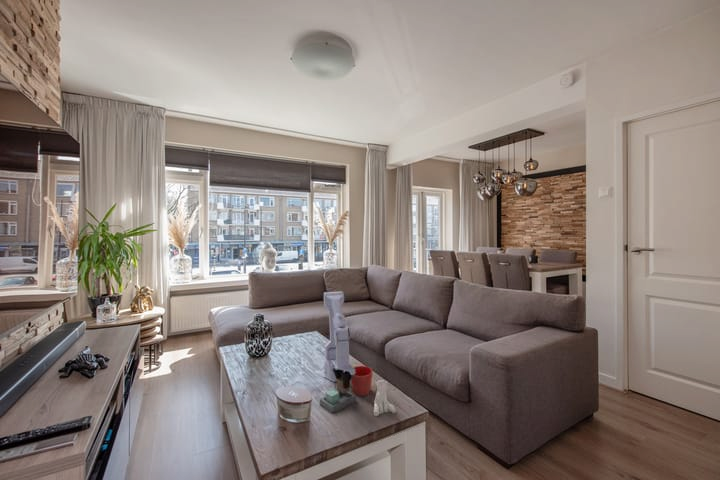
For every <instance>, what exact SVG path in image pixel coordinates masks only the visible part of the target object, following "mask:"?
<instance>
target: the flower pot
mask: <svg viewBox="0 0 720 480" xmlns="http://www.w3.org/2000/svg"><path fill="white" fill-rule="evenodd" d="M352 367H353V366H352ZM353 368H354V369H355V374H354V375H352V378H351V380H350V384H351V387H352V391H353V392H352V393H353V394H354V395H356V396H366V395H368V394H369V393H370V392H371V386H372V379H373V369H372V368H371V367H370V366H365V365H357V366H354V367H353Z"/></svg>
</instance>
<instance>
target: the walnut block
mask: <svg viewBox="0 0 720 480" xmlns="http://www.w3.org/2000/svg"><path fill="white" fill-rule="evenodd" d="M336 391H339V392H341V393H345V392H347V391H349V392H350V391H351V383H350V384H349V387H348V388H346V389H345V388H344V382H343V378H342V377H340V378H338V379H337V381H336Z"/></svg>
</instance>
